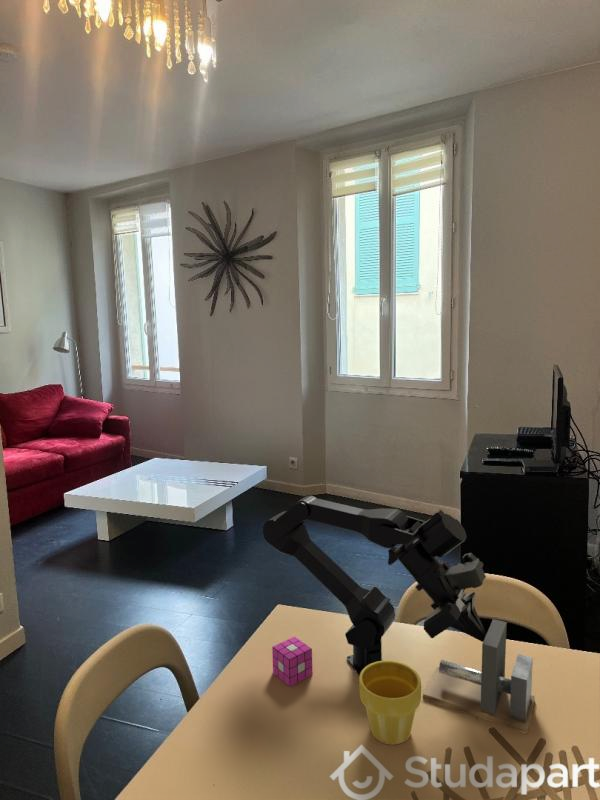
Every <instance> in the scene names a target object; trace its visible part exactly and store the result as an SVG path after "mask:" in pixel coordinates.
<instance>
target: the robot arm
mask: <svg viewBox="0 0 600 800" xmlns="http://www.w3.org/2000/svg"><path fill="white" fill-rule="evenodd" d="M308 520H309V521H311V522H316V523H320V524H323V525H328V526H332V527H335V528H339V529H342V530H343V529H344V530H346V531H347V530H348V531H350V532H355V533H357V534H360V535H361V536H363V537H364V538H365V539H366V540H367V541H369V542H371V543H373V544H375V545H378V546H380V547H382V548H384V549H388V550H387V552H388V559H387V564H388V565H389V566H392V565H394V564H395V562H397V561H399V562H400V564H401V565H402V566H403V567H404V568H405V570H406V571H407V572H408V574H410V576H411V577H412V578H413V579H414V581H415V582H416V585H415V589H416V590H417V591H418V592H420V591H422V590H423V591H424V592H425V594H426V595H427V596H428V598H430V599H431V601H432V602H431V604H430V607H431V609H433V610H432V611H431V612H430V613H428V616H427V617H426V619H425V620H424V622H423V630H424V631H425V633H426V634H427V635H428V636H429V637H430V638H431V639H434V638H436V637H437V636H438V635H440V634H441V633H443V632H444V631H446V630H447V629H449V628H453V629H455V630H457V631H460V632H462V633H464V634H466V635H468V636H469V637H472V638H473V639H476V640H478V641H480V642H482V643H483V641H484V639H485V637H486V634H487V632H486V629H485V627H484V625H483V622H481V619H480V617H479V614H478V612H477V610H476V608H475V597H476V592H475V591H474V592H472V593H470V594H468V593H467V592H465V590H466V589H471V588H473V589H476V588H479V587H481V586H482V585H483V584H484V582H483V581H484V580H485V579H486V578H487V576H486V574H485V571H484V570H483V567H484V562H482V561H480V558H478V557H476V556H475V555H474V554H473V553H472V552H468V553H464V555H463V556H462V557H461V562H459V563H458V564H456V565H453V566H452V565H451V564H450V563H449V562H448V561H446V560H443V561H442V562H441V561H440V560H439V559H438V558H442V557H444V556H446V555H447V554H449V553H450V552H451V551H453V550H454V549H455V548H457V547H458V546H459V545H460V544H462V543H464V542H465V541H466V540H467V533H466V530H465V528H464V527H463V525H462V524H461V522H460V521H459V520H458V519H457V518H454V517H453V516H452V515H450V514H448V513H445V512H444V511H443V510H442V509H440V508H439V509H438V510H437V511H436V512H434V514H432V516H431V517H430V518H428V519H427V520H426V521H425V520H422V519H419V518H416V517H412V516H409V515H406V513H405V512H404V511H402V510H401V509H398V508H397V509H396V508H374V509H373V508H372V509H368V508H367V509H366V508H365V509H364V508H360V507H356V506H351V505H347V504H341V503H338V502H334V501H330V500H327V499H326V500H325V499H321V498H317V497H316V496H313V495H307V496H305V497H303V498H301V499H300V500H297V502H296V503H295V504H294V505H293V506H292V507H290V509H288V510H284V511H282V512H280V513H278V514H277V515H275V516H273V517H271V518H270V519H268V520H266V522H264V524H263V528H262V533H263V536H262V537H263V539H264V540H265V542H266V543H267V544H269V545H270V546H271V547H272V548H274V549H275V550H276V551H278V552H279V553H282V554H285V555H289V556H292V557H294V558H295V559H296V560H297V561H298V562H299V563H300V564H301V565H302V566H304V568H305V569H306V570H307V571H309V573H310V574H311V575H312V576H313V577H315V578H316V579H317V580H318V581H319V582H320V583H321V585H323V586H324V587H325V589H326V590H328V591H329V592H330V593H331V594H332V595H333V596H334V597H335V598H336V599H337V600H338V601H339V602H340V603H341V604H342V605H343V606H344V607H345V609H346V613H347V615H348V617H349V621H350V623H352V626H351V627H350V628H348V630H346V632H345V638H346V642H347V644H348V645H350V646H352V654H351V655H348V656H346V660H347V662H348V663H349V665H350V666H351V667H352V668H353V670H354V671H355V673H356V674H357V675H358V676H359V677H360V673H361V671H362V670H363V669H364V668H365V667H366V666H368V665H369V664H371V663H374V662H378V661H384V659H383V657H382V652H383V651H382V649H383V648H382V644H383V643H382V637H383V636H384V635H385V634H386V632H387V631H388V630H389V629H390V627H391V625H392V624H393V622H395V619H396V611H395V610H396V609H395V607H394V605H393V604H392V602H390V601H391V598H389V597H388V596H385V594H383V593H382V591H381V589H379V588H378V587H376V586H372V588H371V589H367V588H364V587H361V585H359V584H358V583H357V582H356V581H355V580H354V579H353V578H352V577H351V576H350V575H349V574H348V573H346V572H345V570H344V569H342V567H340V566H339V565H338V564H337V562H335V561H334V560H333V559H332V558H331V557H329V555H328V554H326V553H325V552H324V551H323V550H322V549H321V548H320V547H319V546H318V545H317V544H316V543H315V542H314V541H312V539H311V538H310V536H309V533H308V530H307V527H306V525H305V524H304V523H305V522H306V521H308ZM415 538H417V539H415ZM414 539H415V540H414ZM397 545H399V546H397Z"/></svg>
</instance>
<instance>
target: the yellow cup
mask: <svg viewBox="0 0 600 800" xmlns="http://www.w3.org/2000/svg"><path fill="white" fill-rule="evenodd" d="M358 680H359V681H358V683H359V686H358V687H359V697H360V701H361V702H362V704H363V705H364V707H365V711H366V714H367V718H368V722H369V727H370V731H371V733H372V735H373V737H374V738H375V739H376V740H378V741H379V742H381V743H383V744H386V745H391V746H394V745H400V744H402V743H404V742H406V741H408V739H409V738H410V736H411V732H412V728H413V723H414V718H415V714H416V710H417V709H418V708H419V706H420V704H421V701H422V681H421V677H420V675H419V673H418V672H417V671H416V670H415V668H412V667H411V666H410V665H408V664H405V663H404V662H399V661H396V660H383V661H378V662H374V663H371V664H369V665H368V666H366V667H365V668H364V669H363V670H362V671H361V673H360V676H359V678H358Z"/></svg>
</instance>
